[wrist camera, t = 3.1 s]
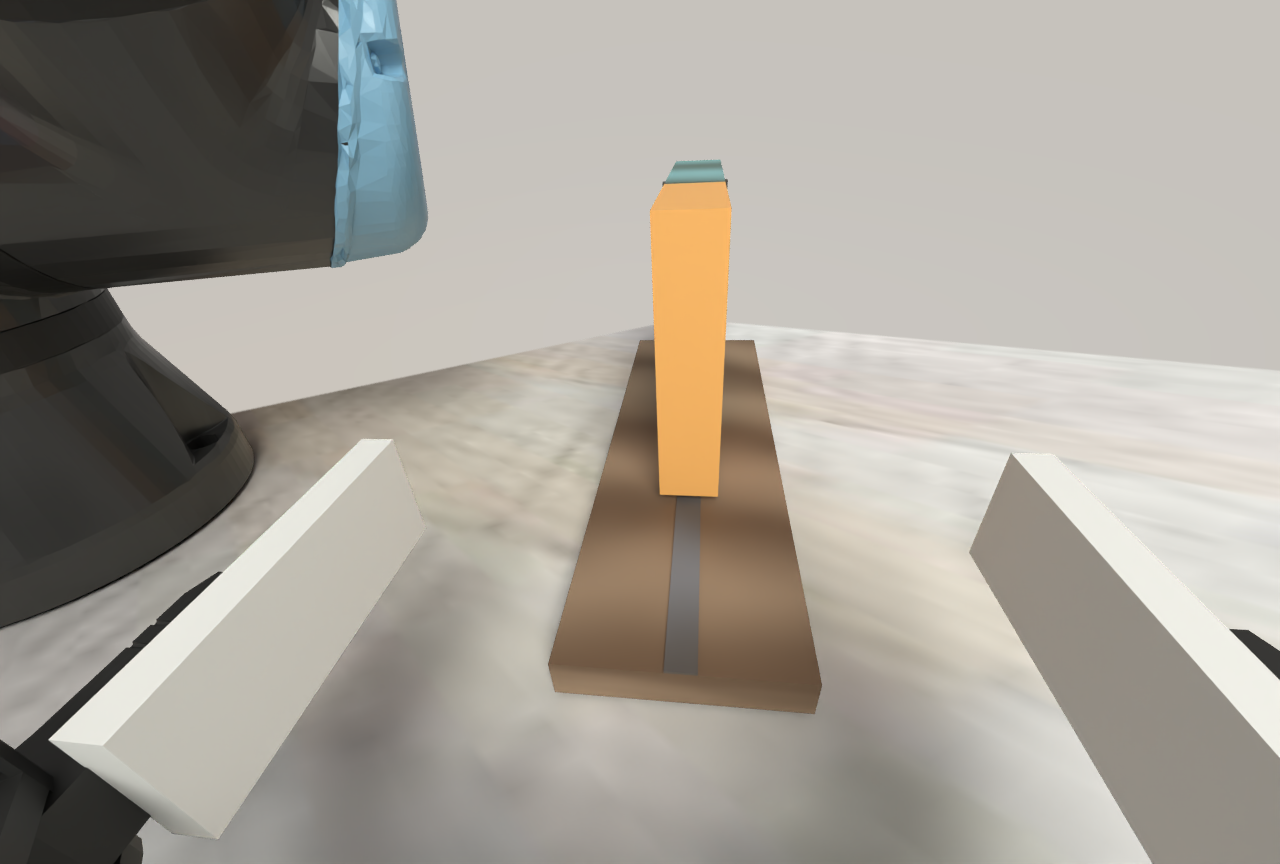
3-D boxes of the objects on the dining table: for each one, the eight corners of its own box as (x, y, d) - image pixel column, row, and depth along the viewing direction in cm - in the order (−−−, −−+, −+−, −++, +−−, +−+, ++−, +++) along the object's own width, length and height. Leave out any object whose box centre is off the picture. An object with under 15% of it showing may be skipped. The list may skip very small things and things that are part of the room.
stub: (717, 496, 21) (731, 207, 15) (659, 494, 21) (650, 210, 15) (715, 420, 26) (725, 181, 20) (668, 419, 26) (664, 184, 20)
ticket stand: (814, 714, 15) (927, 283, 8) (554, 691, 16) (454, 290, 9) (752, 359, 36) (768, 154, 29) (641, 359, 37) (630, 160, 30)
